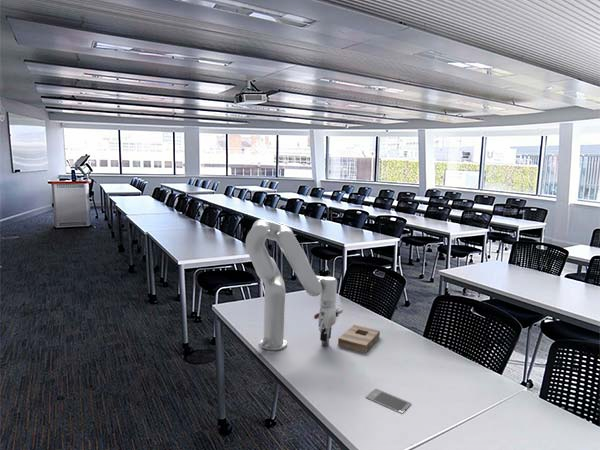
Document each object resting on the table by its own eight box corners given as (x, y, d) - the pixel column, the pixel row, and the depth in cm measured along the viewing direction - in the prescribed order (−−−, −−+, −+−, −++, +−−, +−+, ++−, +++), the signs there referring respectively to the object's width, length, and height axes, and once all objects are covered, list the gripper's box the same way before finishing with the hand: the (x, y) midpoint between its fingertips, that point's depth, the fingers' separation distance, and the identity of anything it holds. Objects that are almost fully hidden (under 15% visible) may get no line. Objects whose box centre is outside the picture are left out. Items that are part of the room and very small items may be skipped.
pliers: (348, 313, 238) (349, 309, 238) (330, 324, 222) (330, 319, 222) (332, 309, 245) (332, 305, 245) (313, 318, 229) (313, 314, 229)
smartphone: (412, 404, 150) (412, 403, 150) (402, 415, 144) (402, 413, 143) (375, 389, 159) (375, 388, 159) (365, 398, 153) (365, 396, 153)
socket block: (365, 352, 189) (365, 345, 188) (338, 345, 196) (338, 338, 195) (379, 337, 206) (379, 330, 206) (353, 330, 213) (354, 324, 212)
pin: (326, 346, 193) (327, 328, 192) (320, 344, 195) (321, 327, 193) (330, 344, 196) (331, 326, 195) (323, 342, 198) (324, 324, 196)
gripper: (327, 309, 183) (324, 347, 186) (342, 299, 198) (339, 335, 200) (312, 306, 187) (310, 343, 190) (328, 296, 201) (325, 331, 204)
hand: (325, 339), depth 195 cm, fingers closed on pin, 3 cm apart
